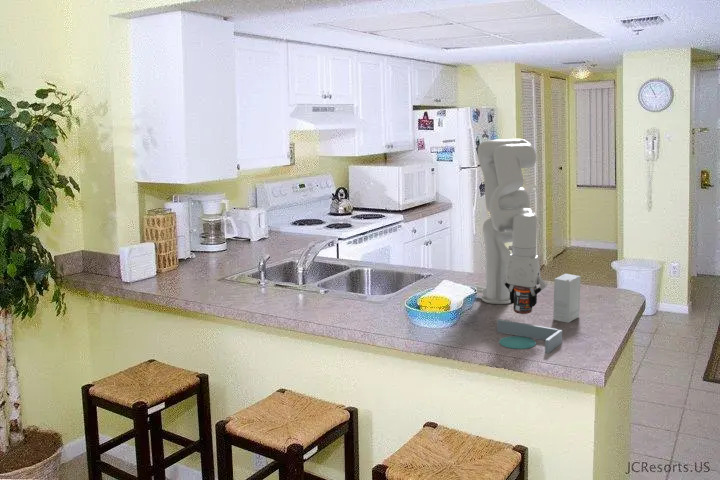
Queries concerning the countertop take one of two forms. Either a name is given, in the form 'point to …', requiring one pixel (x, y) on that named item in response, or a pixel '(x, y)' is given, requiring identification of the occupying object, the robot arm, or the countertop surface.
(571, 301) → the skincare box
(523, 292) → the supplement bottle
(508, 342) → the pad
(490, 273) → the robot arm
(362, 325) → the countertop surface
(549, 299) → the countertop surface
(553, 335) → the divider wall
